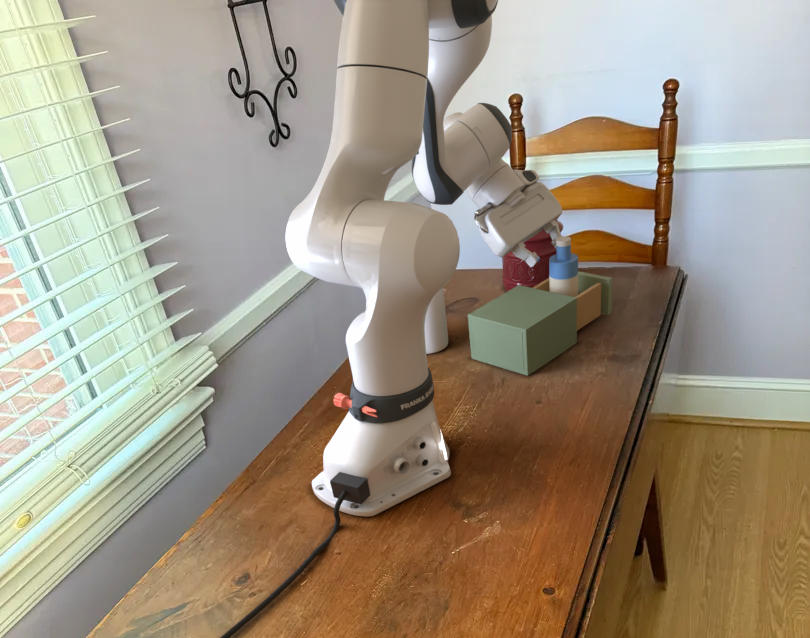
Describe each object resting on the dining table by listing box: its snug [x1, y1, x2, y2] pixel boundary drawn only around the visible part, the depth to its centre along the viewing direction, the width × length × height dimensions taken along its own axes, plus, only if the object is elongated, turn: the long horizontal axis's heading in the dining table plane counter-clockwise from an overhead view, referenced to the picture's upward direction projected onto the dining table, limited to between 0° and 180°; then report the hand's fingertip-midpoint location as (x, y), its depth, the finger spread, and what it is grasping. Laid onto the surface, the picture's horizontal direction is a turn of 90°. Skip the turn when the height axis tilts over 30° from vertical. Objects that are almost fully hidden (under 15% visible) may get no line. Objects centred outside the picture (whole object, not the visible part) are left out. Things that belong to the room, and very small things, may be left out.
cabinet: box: [467, 285, 578, 377], centre depth 143 cm, size 15×13×9 cm
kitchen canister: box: [501, 216, 564, 292], centre depth 164 cm, size 13×13×18 cm
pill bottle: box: [425, 287, 449, 355], centre depth 148 cm, size 8×8×15 cm
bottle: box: [549, 235, 579, 297], centre depth 146 cm, size 5×5×14 cm
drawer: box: [533, 270, 613, 331], centre depth 151 cm, size 18×12×7 cm
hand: (549, 254), depth 145 cm, fingers open, 8 cm apart
